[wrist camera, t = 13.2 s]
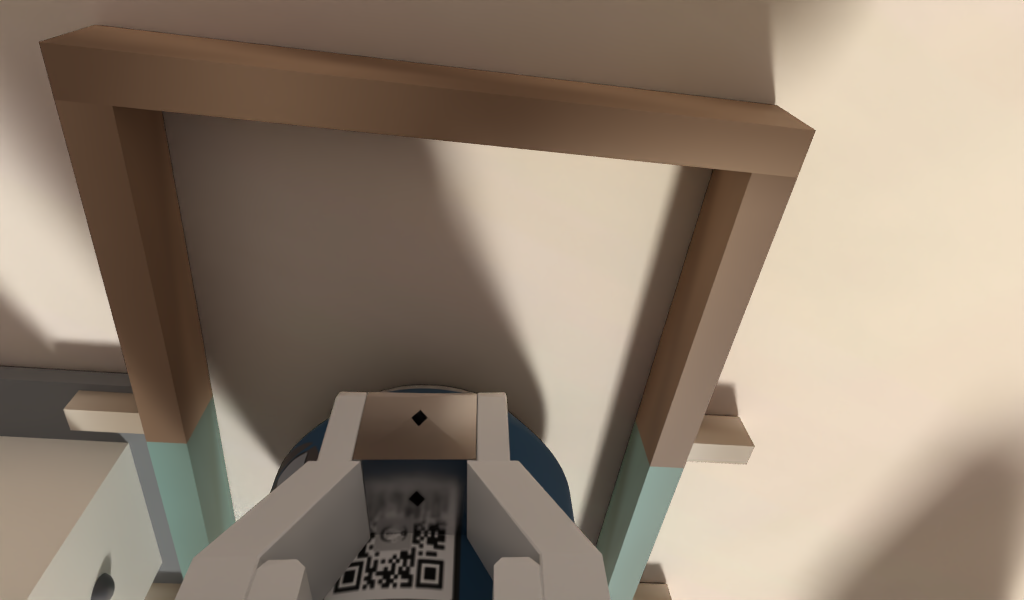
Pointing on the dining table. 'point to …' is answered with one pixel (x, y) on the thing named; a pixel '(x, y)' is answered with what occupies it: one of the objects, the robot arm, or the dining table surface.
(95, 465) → the die
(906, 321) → the dining table surface
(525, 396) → the dining table surface
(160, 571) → the mat
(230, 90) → the track
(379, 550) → the soda can
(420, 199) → the dining table surface
